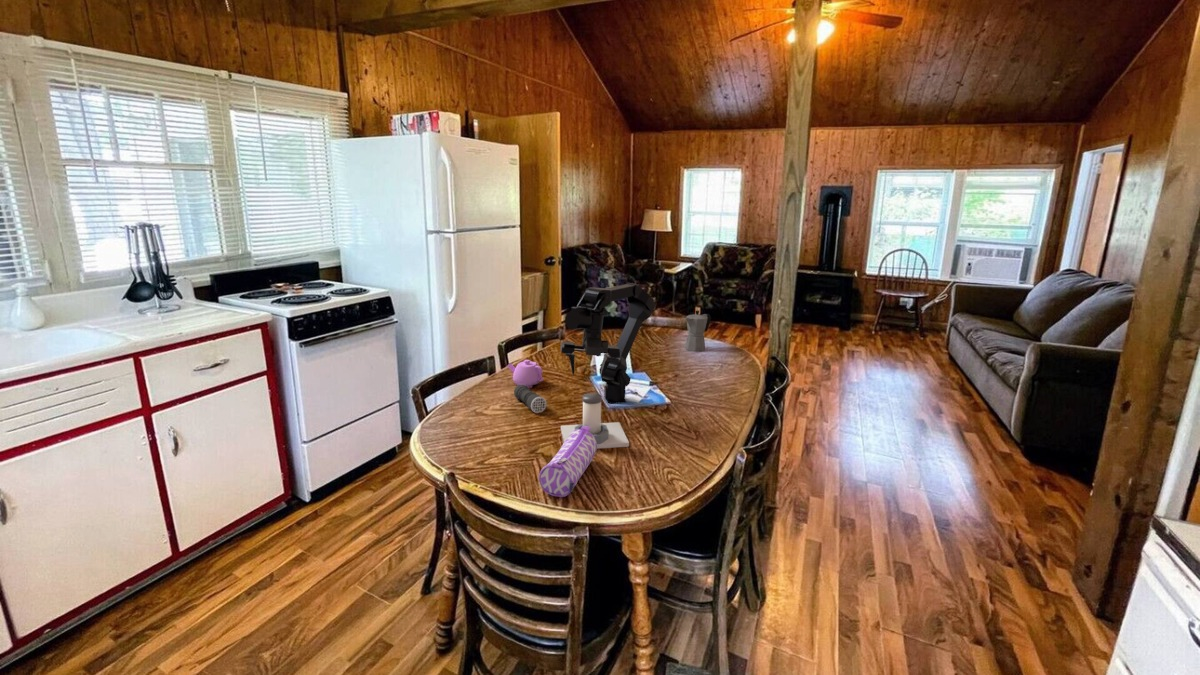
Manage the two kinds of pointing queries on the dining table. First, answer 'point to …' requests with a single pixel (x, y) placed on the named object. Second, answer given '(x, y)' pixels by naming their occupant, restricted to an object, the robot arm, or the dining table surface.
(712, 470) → the dining table surface
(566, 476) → the pencil case
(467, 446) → the dining table surface
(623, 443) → the socket plate
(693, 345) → the coffeepot
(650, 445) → the dining table surface
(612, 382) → the robot arm
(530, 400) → the flashlight
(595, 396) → the canister
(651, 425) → the dining table surface
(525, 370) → the teapot
